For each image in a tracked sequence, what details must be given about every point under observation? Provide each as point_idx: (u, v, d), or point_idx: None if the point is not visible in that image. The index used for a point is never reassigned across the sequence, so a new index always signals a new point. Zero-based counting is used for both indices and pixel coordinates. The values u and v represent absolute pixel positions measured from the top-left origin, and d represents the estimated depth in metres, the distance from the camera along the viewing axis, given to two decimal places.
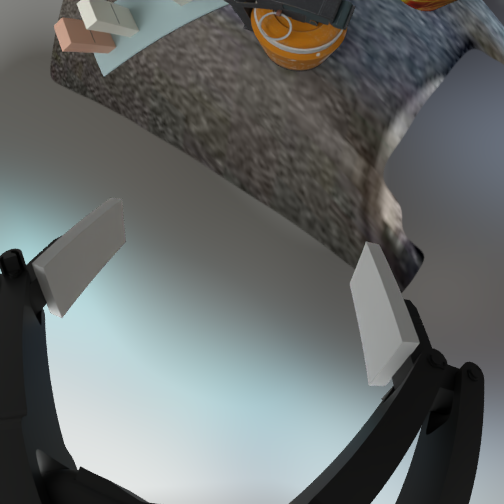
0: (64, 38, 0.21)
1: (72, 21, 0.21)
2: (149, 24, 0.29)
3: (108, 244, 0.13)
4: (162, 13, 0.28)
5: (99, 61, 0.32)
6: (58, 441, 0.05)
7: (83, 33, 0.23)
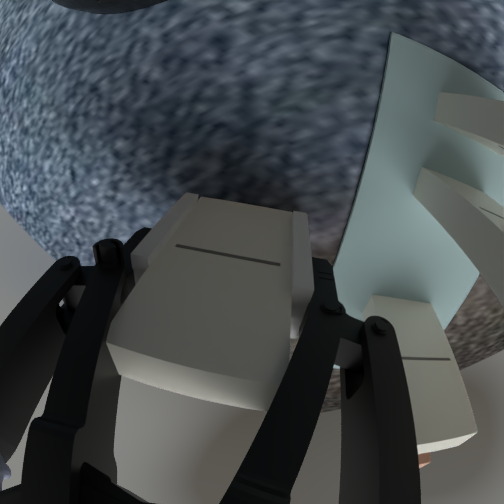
0: None
1: None
2: (442, 283, 0.17)
3: None
4: (452, 253, 0.15)
5: None
6: (108, 449, 0.06)
7: None
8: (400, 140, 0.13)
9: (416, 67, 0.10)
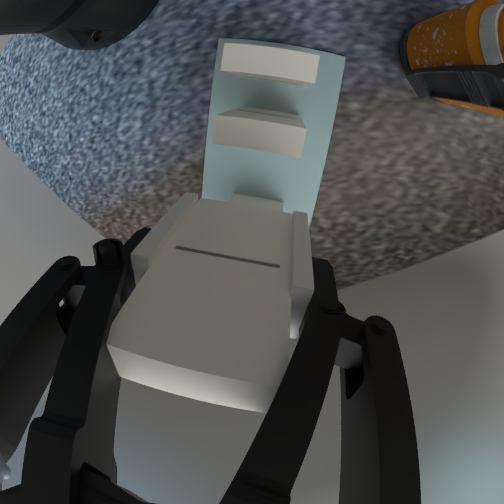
0: None
1: None
2: (286, 185, 0.28)
3: None
4: (285, 160, 0.27)
5: None
6: (108, 449, 0.06)
7: None
8: (227, 94, 0.24)
9: None
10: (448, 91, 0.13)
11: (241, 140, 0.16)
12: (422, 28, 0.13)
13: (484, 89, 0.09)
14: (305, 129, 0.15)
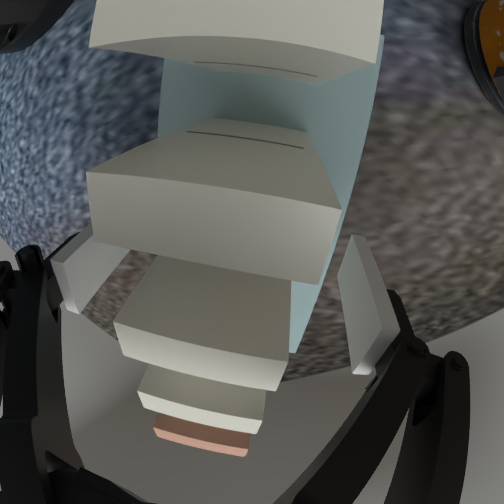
0: (217, 448, 0.13)
1: None
2: None
3: None
4: None
5: None
6: (67, 441, 0.05)
7: None
8: (184, 99, 0.14)
9: None
10: None
11: (155, 238, 0.06)
12: None
13: None
14: (337, 210, 0.05)
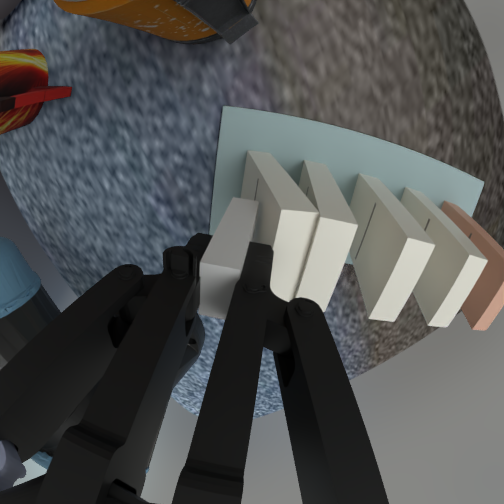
0: None
1: (465, 305, 0.16)
2: (386, 181, 0.21)
3: None
4: None
5: (471, 209, 0.21)
6: (142, 463, 0.05)
7: None
8: None
9: None
10: None
11: (327, 286, 0.14)
12: (152, 33, 0.13)
13: None
14: (321, 218, 0.12)
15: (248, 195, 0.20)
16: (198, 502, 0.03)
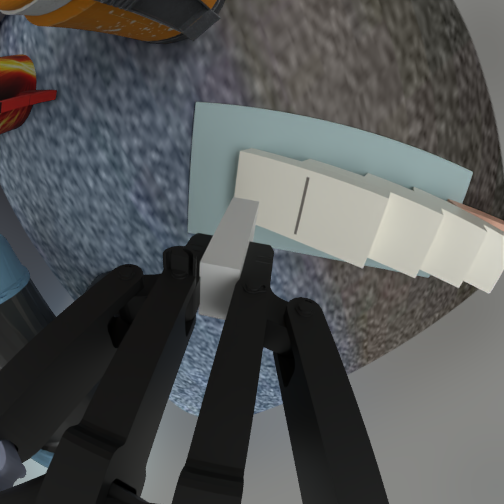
0: None
1: None
2: (365, 172, 0.21)
3: None
4: None
5: (459, 200, 0.20)
6: (142, 463, 0.05)
7: None
8: None
9: (204, 219, 0.25)
10: None
11: None
12: (122, 35, 0.13)
13: None
14: (442, 215, 0.16)
15: (272, 195, 0.20)
16: (198, 502, 0.03)
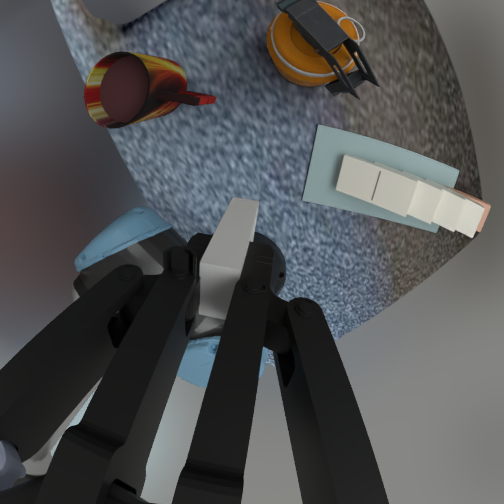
0: None
1: None
2: (402, 169, 0.37)
3: None
4: None
5: (452, 186, 0.37)
6: (142, 463, 0.05)
7: None
8: (341, 199, 0.41)
9: (314, 192, 0.41)
10: None
11: None
12: (294, 82, 0.29)
13: (354, 83, 0.21)
14: (442, 191, 0.32)
15: (361, 179, 0.36)
16: (198, 502, 0.03)
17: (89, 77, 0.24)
